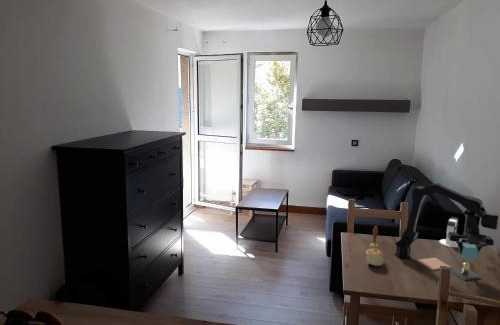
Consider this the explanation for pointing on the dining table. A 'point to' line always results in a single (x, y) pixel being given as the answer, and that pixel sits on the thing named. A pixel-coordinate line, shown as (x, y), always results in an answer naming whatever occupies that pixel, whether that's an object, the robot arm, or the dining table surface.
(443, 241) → the white stand
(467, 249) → the teal cube
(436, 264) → the tile
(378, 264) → the apple
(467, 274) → the post base
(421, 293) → the dining table surface
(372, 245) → the hand bell
